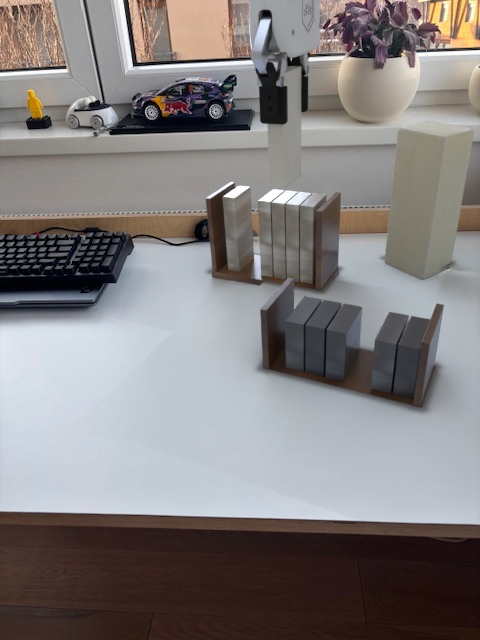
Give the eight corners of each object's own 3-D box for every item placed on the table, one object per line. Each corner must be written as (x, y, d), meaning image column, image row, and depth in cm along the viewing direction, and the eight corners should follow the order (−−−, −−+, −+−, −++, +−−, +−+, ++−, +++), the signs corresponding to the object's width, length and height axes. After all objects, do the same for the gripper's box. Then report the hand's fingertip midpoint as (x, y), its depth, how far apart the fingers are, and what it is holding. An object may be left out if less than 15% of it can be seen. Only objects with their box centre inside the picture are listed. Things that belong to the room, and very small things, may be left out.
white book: (301, 175, 71) (301, 66, 64) (284, 189, 66) (282, 74, 59) (287, 174, 71) (285, 66, 65) (269, 188, 67) (265, 73, 60)
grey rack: (435, 372, 63) (446, 304, 58) (421, 415, 57) (432, 344, 52) (287, 339, 70) (286, 277, 65) (261, 374, 64) (258, 309, 59)
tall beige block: (455, 266, 84) (478, 126, 73) (423, 281, 81) (443, 136, 70) (414, 250, 90) (430, 118, 79) (383, 263, 87) (395, 127, 76)
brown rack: (339, 273, 85) (342, 192, 78) (321, 296, 79) (323, 211, 72) (234, 256, 92) (229, 181, 86) (211, 276, 87) (204, 198, 80)
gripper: (285, -77, 47) (287, 136, 57) (343, -68, 60) (337, 103, 70) (210, -68, 50) (224, 132, 60) (280, -62, 63) (282, 102, 73)
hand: (284, 115), depth 65 cm, fingers closed on white book, 6 cm apart
